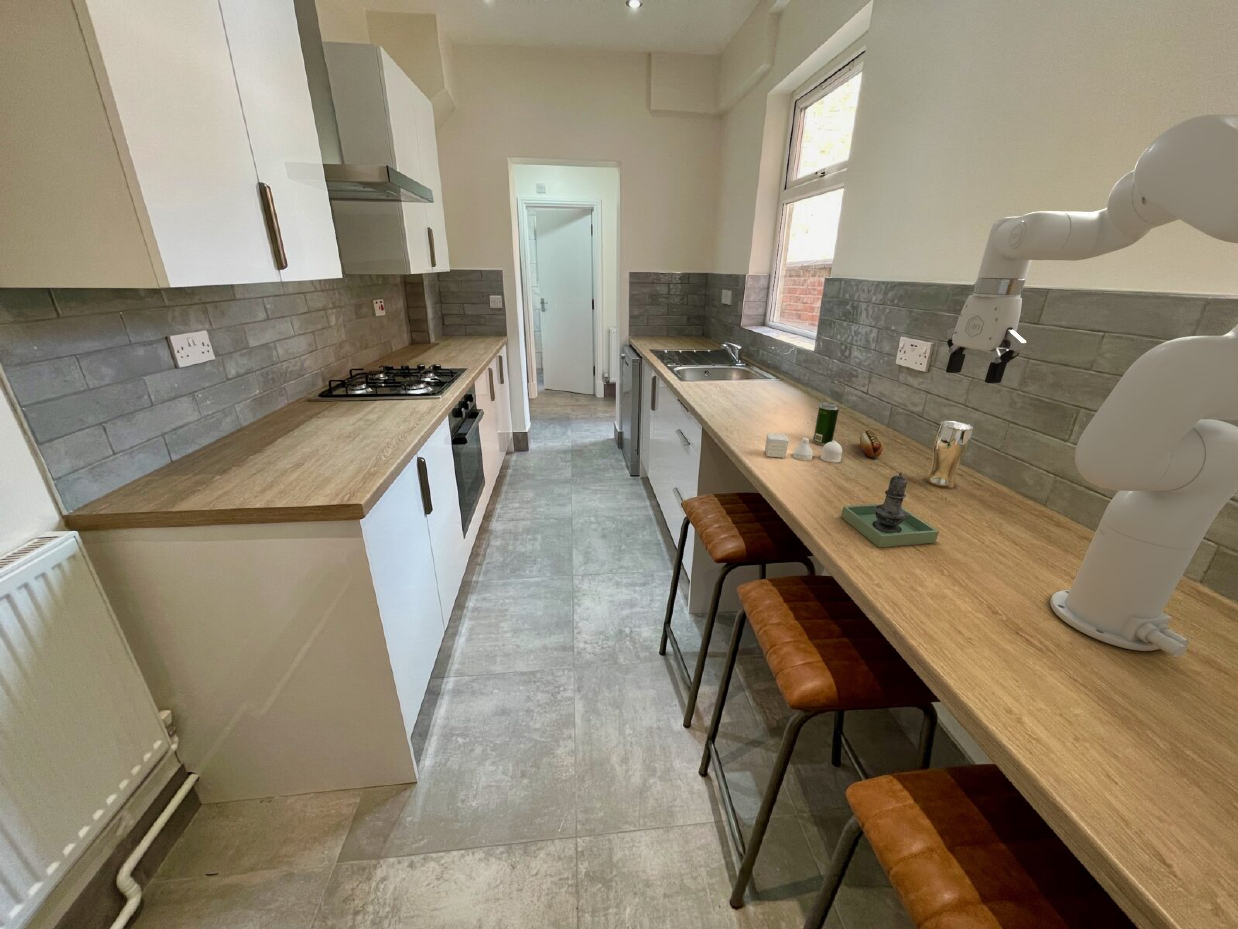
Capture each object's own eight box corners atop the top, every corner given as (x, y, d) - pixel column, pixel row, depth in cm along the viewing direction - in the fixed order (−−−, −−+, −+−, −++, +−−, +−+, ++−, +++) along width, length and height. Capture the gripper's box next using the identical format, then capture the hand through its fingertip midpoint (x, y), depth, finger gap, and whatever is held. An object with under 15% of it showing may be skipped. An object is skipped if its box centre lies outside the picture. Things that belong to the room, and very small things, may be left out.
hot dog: (862, 459, 134) (866, 442, 133) (855, 443, 146) (859, 428, 144) (882, 461, 133) (886, 444, 131) (873, 445, 145) (877, 429, 143)
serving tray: (935, 542, 94) (939, 531, 93) (878, 547, 92) (881, 535, 91) (892, 513, 105) (895, 502, 104) (840, 516, 103) (843, 506, 102)
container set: (766, 457, 134) (769, 439, 132) (764, 451, 139) (767, 432, 137) (843, 463, 131) (847, 444, 129) (838, 456, 136) (841, 437, 134)
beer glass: (950, 491, 116) (969, 431, 110) (919, 482, 121) (935, 424, 115) (960, 483, 120) (978, 425, 114) (929, 475, 125) (945, 418, 119)
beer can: (827, 447, 143) (834, 407, 138) (809, 442, 146) (816, 403, 142) (834, 443, 146) (842, 404, 142) (817, 438, 150) (824, 400, 145)
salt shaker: (907, 536, 95) (923, 479, 90) (875, 532, 96) (889, 476, 91) (897, 521, 100) (912, 467, 96) (867, 518, 101) (880, 465, 97)
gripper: (945, 286, 101) (924, 369, 107) (1023, 290, 85) (992, 387, 91) (976, 287, 102) (954, 368, 108) (1059, 291, 86) (1026, 386, 93)
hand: (971, 377), depth 100 cm, fingers open, 9 cm apart
